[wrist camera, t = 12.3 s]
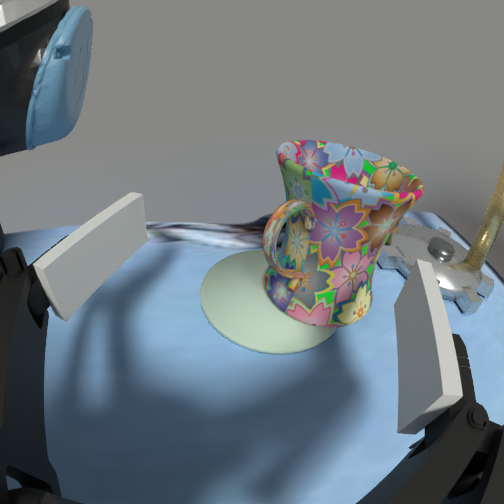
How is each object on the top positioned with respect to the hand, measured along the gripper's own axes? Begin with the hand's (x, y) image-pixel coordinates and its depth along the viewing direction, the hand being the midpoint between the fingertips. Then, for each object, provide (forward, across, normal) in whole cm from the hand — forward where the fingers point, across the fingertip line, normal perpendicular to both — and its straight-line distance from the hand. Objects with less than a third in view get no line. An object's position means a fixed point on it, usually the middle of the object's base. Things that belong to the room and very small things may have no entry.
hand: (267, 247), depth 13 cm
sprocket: (+17, +16, -8) cm, 25 cm away
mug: (+6, +3, -8) cm, 10 cm away
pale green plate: (+6, 0, -8) cm, 10 cm away
